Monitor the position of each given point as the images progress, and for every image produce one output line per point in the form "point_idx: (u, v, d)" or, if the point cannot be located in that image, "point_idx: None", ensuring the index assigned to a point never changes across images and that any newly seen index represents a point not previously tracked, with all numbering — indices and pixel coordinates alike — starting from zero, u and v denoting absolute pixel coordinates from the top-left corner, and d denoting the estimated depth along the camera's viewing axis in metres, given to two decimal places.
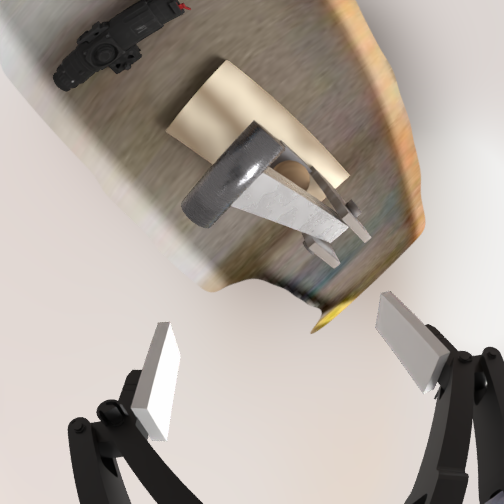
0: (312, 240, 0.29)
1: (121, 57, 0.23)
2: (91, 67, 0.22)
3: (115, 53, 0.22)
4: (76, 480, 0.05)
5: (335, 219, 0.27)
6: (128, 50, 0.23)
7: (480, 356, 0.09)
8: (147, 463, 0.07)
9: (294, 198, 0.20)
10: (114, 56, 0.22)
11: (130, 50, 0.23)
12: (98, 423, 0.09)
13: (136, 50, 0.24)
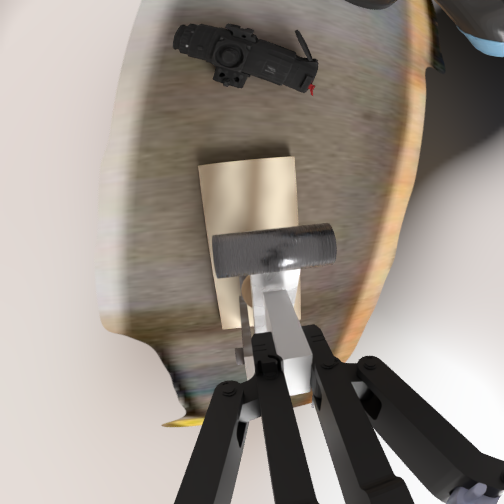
0: (251, 352, 0.28)
1: (231, 72, 0.28)
2: (210, 53, 0.25)
3: (234, 64, 0.26)
4: (198, 440, 0.08)
5: None
6: (241, 73, 0.28)
7: (355, 370, 0.11)
8: (280, 420, 0.09)
9: None
10: (231, 65, 0.26)
11: (242, 75, 0.28)
12: (242, 384, 0.11)
13: (245, 80, 0.29)
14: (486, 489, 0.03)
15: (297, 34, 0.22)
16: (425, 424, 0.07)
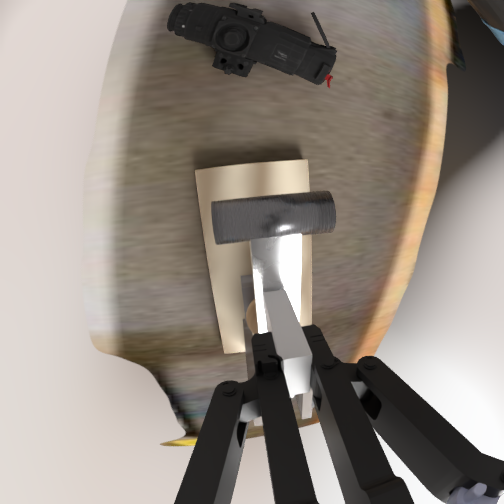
0: None
1: (234, 58, 0.23)
2: (210, 34, 0.20)
3: (238, 48, 0.21)
4: (198, 441, 0.08)
5: None
6: (246, 59, 0.23)
7: (355, 370, 0.11)
8: (280, 420, 0.09)
9: (293, 299, 0.18)
10: (234, 49, 0.21)
11: (247, 61, 0.23)
12: (242, 384, 0.11)
13: (250, 67, 0.24)
14: (486, 490, 0.03)
15: (314, 16, 0.17)
16: (425, 424, 0.07)
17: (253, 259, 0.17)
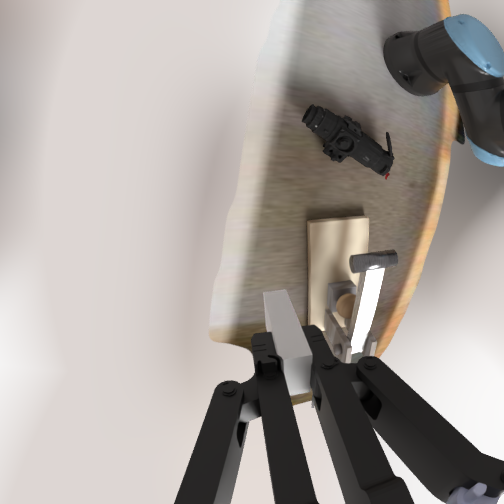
0: (350, 345, 0.43)
1: (338, 151, 0.43)
2: (331, 137, 0.40)
3: (344, 149, 0.41)
4: (198, 441, 0.08)
5: (367, 333, 0.44)
6: (345, 154, 0.43)
7: (355, 370, 0.11)
8: (280, 420, 0.09)
9: (376, 295, 0.39)
10: (341, 149, 0.41)
11: (345, 155, 0.43)
12: (242, 384, 0.11)
13: (344, 158, 0.44)
14: (486, 489, 0.03)
15: (389, 138, 0.38)
16: (425, 424, 0.07)
17: (366, 278, 0.37)
